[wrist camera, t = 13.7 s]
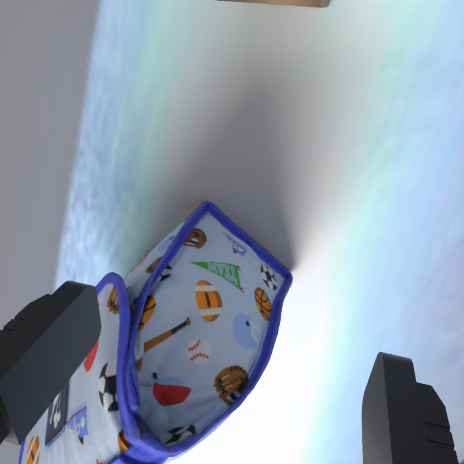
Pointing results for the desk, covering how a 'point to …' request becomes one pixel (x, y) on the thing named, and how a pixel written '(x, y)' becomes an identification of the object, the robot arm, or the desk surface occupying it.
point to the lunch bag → (168, 349)
